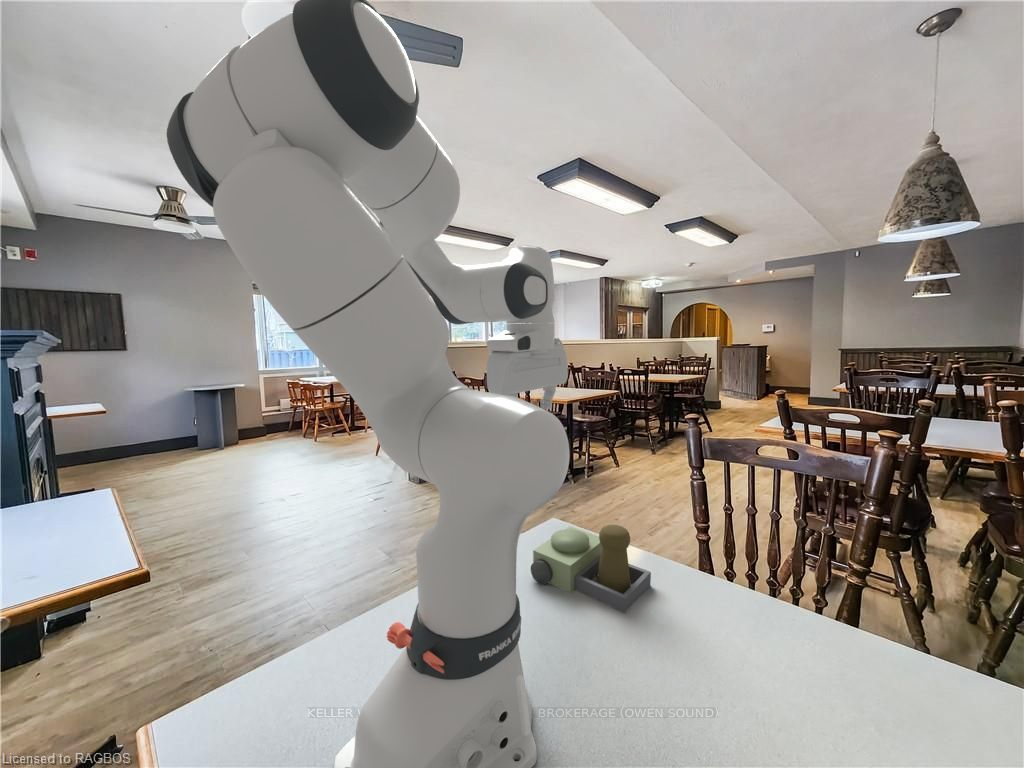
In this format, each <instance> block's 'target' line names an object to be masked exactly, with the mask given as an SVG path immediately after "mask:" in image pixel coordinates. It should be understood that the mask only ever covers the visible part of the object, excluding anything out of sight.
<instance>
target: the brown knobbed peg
mask: <svg viewBox="0 0 1024 768" xmlns="http://www.w3.org/2000/svg"><path fill="white" fill-rule="evenodd" d="M598 534H599V535H598V536H599V540H600V544H601V545H602V550H601V556H600V563H599V569H598V574H597V575H596V583H598V584H601V585H603V586H605V587H608V588H610V589H612V590H615V591H617V592H619V593H622V594H624V593H625V592H626V591H627V590H628V589H629V588H630V587H631V586H632V584H631V583H632V581H631V580H630V573H629V564H630V563H629V557H628V550H627V549H628V548H629V547H630V543H631V536H630V532H629V531H628V529H626V528H625V527H624V526H622V525H618V524H607V525H604V526H603V527H602V528H601V529H600V530H599V533H598Z"/></svg>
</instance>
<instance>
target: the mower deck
mask: <svg viewBox="0 0 1024 768" xmlns="http://www.w3.org/2000/svg"><path fill="white" fill-rule="evenodd" d="M601 550H602V545H601V544H600V540H599V535H595V534H593V533H591V532H586V531H584V530H581V529H578V528H575V527H573V526H568V527H567V528H565V529H560V530H557V531H554V533H552V535H551V537H550V539H549V540H547V541H545V542H544V543H542V544H540V545H539V546H538V547H536V548H535V549H533V551H532V553H533V559H532V560H533V563H532V564H531V565H530V573H531V576H532V578H533V579H534V581H536V582H537V584H540V585H546V584H547V583H548V584H551V585H552V586H555V587H556V588H559V589H560V590H563V591H565V592H567V593H569V594H571V593H573V592H574V591H575V592H578V593H581V594H582V595H585V596H586V597H589V598H591V599H594V600H596V601H597V602H601V603H603V604H604V605H606V606H608V607H611V608H613V609H615V610H617V611H620V612H622V613H624V614H626V613H627V612H628V611H629V610H630V609H631V608H632V606H633V605H634V604H635V603H636V602H637V601H638V600H639V598H641V597H642V595H644V593H645V592H646V591H647V590H648V589H649V587H650V586H651V583H652V582H651V581H652V580H651V579H652V572H651V571H649V570H647V569H644V568H641V567H638V566H636V565H633V564H631V563H628V564H629V573H630V581H631V582H634V583H633V584H631V587H630V588H629V589H628V590H627V591H626V592H625V593H624V594H622V593H619V592H617V591H615V590H612V589H610V588H608V587H605V586H603V585H601V584H598V583H596V582H597V581H596V582H595V581H593V579H594V578H596V577H597V576H598V569H599V563H600V556H601Z"/></svg>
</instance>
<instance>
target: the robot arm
mask: <svg viewBox="0 0 1024 768" xmlns="http://www.w3.org/2000/svg"><path fill="white" fill-rule="evenodd" d="M419 105H420V91H419V87H418V83H417V78H416V76H415V73H414V71H413V68H412V65H411V63H410V61H409V57H408V55H407V52H406V49H404V46H403V45H402V43H401V41H400V39H399V38H398V37H397V35H396V33H395V32H394V30H393V29H392V27H390V25H389V24H388V22H386V20H385V19H384V17H383V16H382V15H381V14H380V12H379V11H378V10H377V9H376V8H375V7H374V6H373V5H372V4H371V3H370V2H369V0H297V1H296V2H295V4H294V6H293V9H292V12H290V13H289V14H287V15H285V16H283V17H281V18H279V19H277V20H276V21H275V22H272V23H271V24H270V25H268V26H266V27H264V28H263V29H262V30H260V31H259V32H258V33H255V35H254V36H252V37H251V38H249V39H248V40H246V41H245V42H244V43H243V44H242V45H239V44H238V45H237V46H234V47H233V48H231V49H230V51H228V53H226V54H225V55H224V56H223V57H222V58H221V59H220V60H219V61H218V62H217V63H215V65H214V66H213V67H212V68H211V69H210V71H208V73H206V75H205V76H204V78H203V79H202V80H201V81H200V82H199V84H198V86H196V88H195V89H194V91H190V92H188V93H187V94H185V95H183V96H182V97H181V99H180V101H179V102H178V103H177V105H176V106H175V108H174V110H173V112H172V114H171V116H170V118H169V120H168V124H167V129H166V140H167V145H168V149H169V151H170V154H171V156H172V158H173V159H172V160H173V161H174V163H175V165H176V167H177V169H178V171H179V172H180V174H181V175H182V177H183V179H184V180H185V181H186V182H187V184H188V185H189V186H190V187H191V188H192V190H193V191H194V192H195V193H196V194H197V195H198V196H199V198H201V199H202V200H203V201H204V202H205V203H206V204H208V205H209V206H210V207H212V210H213V217H214V220H215V223H216V224H217V227H218V229H219V231H220V233H221V234H222V236H223V238H224V239H225V240H226V243H227V244H228V245H229V247H230V249H231V251H232V252H233V254H234V255H235V256H236V258H237V260H238V261H239V263H240V265H241V266H242V267H243V269H244V270H245V272H246V273H247V275H248V277H250V280H252V281H253V283H254V284H255V286H256V288H258V290H259V291H260V293H261V294H262V295H263V297H264V298H265V299H266V300H267V302H269V304H270V306H272V308H273V309H274V310H275V311H276V313H277V314H278V315H279V316H280V317H281V319H283V321H284V322H285V323H286V325H287V326H288V327H289V328H290V329H291V331H293V332H294V333H295V334H296V336H298V337H299V339H300V340H301V341H302V342H303V343H304V345H306V347H307V348H308V349H309V350H310V352H312V354H313V355H315V357H316V358H317V359H318V360H319V361H320V362H321V363H322V365H323V366H324V367H325V368H326V369H327V370H328V371H329V372H330V374H332V376H333V377H334V378H335V379H336V380H337V382H338V383H340V385H341V386H342V387H343V388H344V389H345V390H346V392H347V393H348V394H349V396H351V398H352V399H353V401H354V402H355V403H356V404H357V406H358V408H359V409H360V411H361V413H362V414H363V416H364V417H365V419H366V422H368V424H369V426H370V427H371V429H372V431H373V433H374V434H375V436H376V440H377V442H378V445H379V446H380V448H381V450H382V451H383V452H384V453H385V454H386V456H388V457H389V459H390V460H392V461H393V462H394V463H395V464H396V466H398V467H399V468H401V469H402V471H404V472H406V473H407V474H409V475H412V476H414V477H417V478H418V479H421V480H423V481H425V482H428V483H430V484H432V485H434V486H435V488H436V489H437V492H438V495H439V502H440V503H439V512H438V516H437V521H436V522H435V523H433V524H432V525H430V526H429V528H428V529H426V531H424V532H423V534H422V535H421V537H420V538H419V540H418V542H417V545H416V549H415V550H416V551H415V556H416V558H415V559H416V576H417V579H416V581H417V598H418V600H417V601H418V603H417V605H416V607H415V611H414V615H413V617H412V622H411V625H410V629H409V628H407V627H405V625H404V624H403V623H402V622H400V621H397V622H394V623H393V624H391V626H389V628H388V629H389V630H387V633H386V634H387V635H386V639H387V641H389V643H391V644H393V645H395V647H396V648H397V649H398V650H402V649H403V651H402V652H401V653H400V654H399V656H397V658H396V660H395V661H394V663H393V664H392V665H391V666H390V668H389V670H388V671H387V673H386V674H385V675H384V676H383V678H382V680H381V681H380V682H379V684H378V685H377V686H376V687H375V689H374V691H373V692H372V693H371V695H370V696H369V697H368V699H367V700H366V701H365V703H364V704H363V705H362V708H361V710H360V712H359V715H358V719H357V723H356V729H355V734H354V735H353V737H351V738H350V740H349V741H348V742H346V744H345V745H343V746H342V748H341V749H340V750H339V751H338V752H337V753H336V755H335V756H334V759H333V765H332V768H533V767H534V766H535V764H536V762H537V761H538V760H537V759H538V753H537V752H538V751H537V746H536V740H535V738H534V734H533V732H532V722H533V710H532V709H533V708H532V702H531V698H530V696H529V694H528V691H527V687H526V683H525V682H526V681H525V677H524V676H525V675H524V669H523V663H522V659H521V652H520V646H519V641H520V638H521V634H522V633H521V632H522V631H521V630H522V629H521V627H522V616H521V604H520V599H519V596H518V594H517V555H518V553H517V552H518V543H519V538H520V535H521V532H522V529H523V527H524V524H525V522H526V520H527V519H528V517H530V515H531V514H533V513H534V512H536V511H538V510H539V509H542V508H543V507H544V506H546V505H547V504H548V503H549V502H550V501H551V500H552V499H553V498H554V497H555V495H557V493H558V492H559V490H560V489H561V487H562V485H563V484H564V482H565V479H566V476H567V473H568V470H569V465H570V444H569V443H570V442H569V438H568V435H567V433H566V429H565V428H564V425H563V424H562V422H561V420H560V419H559V418H558V417H557V416H556V415H554V414H553V413H552V412H549V411H548V410H550V409H552V408H553V399H554V396H555V393H556V392H557V391H556V388H557V386H558V385H559V386H560V385H563V384H566V382H567V380H568V377H569V371H568V359H567V353H566V350H565V349H564V343H563V342H562V340H560V337H555V317H554V314H553V305H554V303H555V302H554V301H555V280H554V279H555V278H554V269H553V264H552V257H551V255H550V253H549V252H548V251H547V250H546V249H544V248H541V247H539V246H532V245H519V246H515V247H513V248H511V249H510V250H509V252H508V255H507V256H508V257H506V258H504V259H503V260H500V261H498V262H491V263H483V264H473V265H462V264H457V263H454V262H452V261H451V260H449V258H448V256H446V253H444V251H443V250H442V248H441V247H440V245H439V244H438V242H436V239H437V238H439V237H440V236H441V235H442V234H443V233H444V232H445V231H446V229H447V228H448V227H449V225H450V224H451V223H452V220H453V219H454V217H455V214H456V212H457V211H458V210H457V209H458V206H459V203H460V196H461V186H460V184H461V183H460V178H459V176H458V173H457V170H456V168H455V167H454V165H453V163H452V160H451V159H450V157H449V156H448V155H447V153H446V152H445V150H444V149H443V147H442V146H441V145H440V143H438V141H437V139H436V138H435V137H434V136H433V134H432V133H431V131H430V130H429V129H428V128H427V126H426V125H425V123H424V122H423V121H422V120H421V119H420V118H419V117H418V110H419ZM377 218H378V219H377ZM447 322H449V323H451V324H452V325H456V326H457V325H458V326H459V325H466V324H473V323H500V322H506V324H505V325H506V329H504V330H502V331H501V332H499V333H497V334H496V335H493V336H492V337H490V338H488V339H487V340H486V349H487V351H489V352H490V353H489V354H488V356H487V361H486V387H487V390H488V391H489V392H487V391H481V390H476V389H472V388H470V387H469V386H467V385H465V384H464V383H463V382H461V381H460V380H459V379H458V378H457V377H456V376H455V374H454V372H453V371H452V368H451V366H450V364H449V361H448V357H447V354H446V352H447V349H448V347H449V342H450V330H449V329H450V328H449V326H448V323H447ZM538 389H539V390H540V389H542V390H543V391H544V393H543V397H542V399H540V401H539V402H540V405H539V406H540V407H539V406H538V405H535V404H533V403H531V402H528V401H526V400H524V399H523V398H519V397H518V396H519V395H518V394H519V393H524V392H529V391H534V390H538ZM515 760H516V761H515ZM517 760H518V761H517Z"/></svg>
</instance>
